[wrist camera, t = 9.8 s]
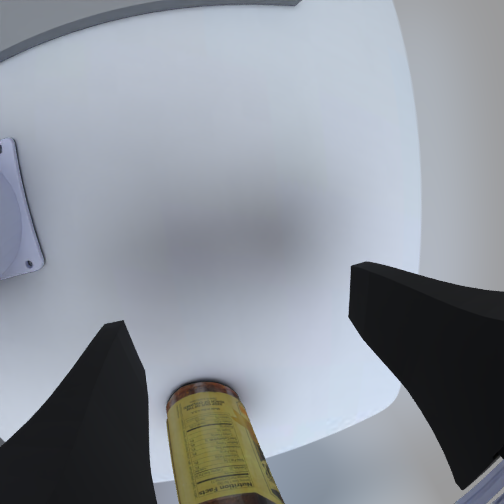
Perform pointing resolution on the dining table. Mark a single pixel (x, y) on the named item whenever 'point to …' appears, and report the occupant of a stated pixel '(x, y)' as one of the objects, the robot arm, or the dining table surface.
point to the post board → (80, 17)
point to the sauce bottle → (216, 449)
